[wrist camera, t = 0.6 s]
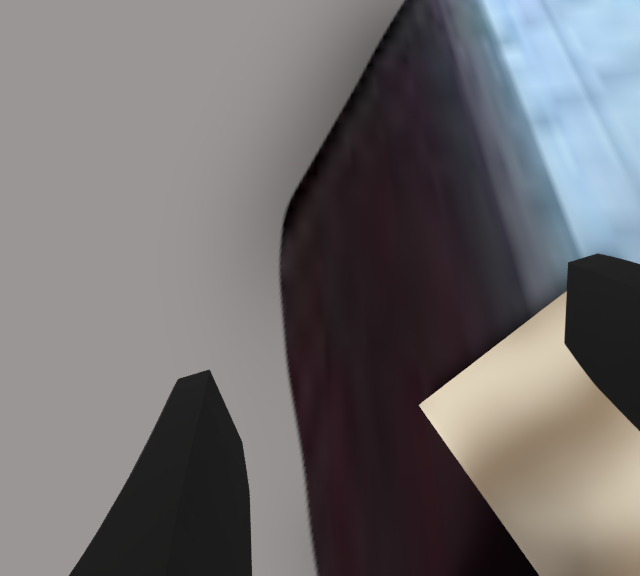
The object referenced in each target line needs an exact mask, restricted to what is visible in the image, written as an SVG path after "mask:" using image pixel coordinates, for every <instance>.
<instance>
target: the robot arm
mask: <svg viewBox="0 0 640 576" xmlns="http://www.w3.org/2000/svg"><path fill="white" fill-rule="evenodd" d="M564 344H565V345H566V347H567V348H568V349H569V351H570V352H571V354H572V355H573V356H574V358H575V359H576V361H577V362H578V363H579V365H580V366H581V368H582V369H583V370H584V371H585V373H586V374H587V375H588V377H589V378H590V379H591V381H592V382H593V383H594V384H595V385H596V386H597V388H598V389H599V390H600V391H601V392H602V393H603V394H604V395H605V396H606V397H607V398H608V399H609V400H610V401H611V402H612V403H613V404H614V405H615V406H616V408H617V409H618V410H619V411H620V412H621V413H622V414H623V415H624V416H625V417H626V418H627V419H628V420H629V421H630V422H631V423H632V424H633V425H634V426H635V427H636V428H637V429H638V430H639V431H640V264H637V263H634V262H630V261H626V260H623V259H619V258H615V257H611V256H606V255H601V254H595V255H592V256H588V257H585V258H582V259H578V260H575V261H571V262H568V277H567V297H566V317H565V337H564ZM249 496H250V494H249V485H248V478H247V470H246V464H245V457H244V451H243V444H242V441H241V438H240V436H239V434H238V432H237V429H236V427H235V425H234V423H233V421H232V418H231V416H230V414H229V412H228V409H227V407H226V405H225V403H224V401H223V398H222V396H221V394H220V392H219V390H218V387H217V385H216V383H215V381H214V378H213V376H212V374H211V372H210V370H207V371H203V372H200V373H197V374H193V375H190V376H187V377H183V378H180V379H178V380H177V382H176V384H175V386H174V388H173V390H172V392H171V394H170V396H169V398H168V400H167V402H166V404H165V406H164V408H163V411H162V413H161V415H160V417H159V419H158V421H157V423H156V425H155V427H154V429H153V431H152V433H151V435H150V437H149V439H148V441H147V443H146V445H145V447H144V449H143V451H142V453H141V455H140V457H139V459H138V461H137V462H136V464H135V466H134V468H133V470H132V472H131V474H130V476H129V478H128V480H127V481H126V483H125V485H124V487H123V489H122V490H121V492H120V494H119V495H118V497H117V499H116V501H115V502H114V504H113V506H112V507H111V509H110V511H109V513H108V514H107V516H106V518H105V520H104V521H103V523H102V525H101V527H100V528H99V530H98V532H97V533H96V535H95V537H94V538H93V540H92V541H91V543H90V544H89V546H88V547H87V549H86V551H85V552H84V554H83V555H82V557H81V558H80V560H79V562H78V563H77V564H76V566H75V567H74V569H73V570H72V572H71V573H70V575H69V576H252V560H251V523H250V497H249Z"/></svg>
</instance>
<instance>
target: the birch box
mask: <svg viewBox="0 0 640 576" xmlns="http://www.w3.org/2000/svg"><path fill="white" fill-rule="evenodd" d="M566 297H567V291H566V292H565V293H563V294H562V295H561V296H559V297H558V298H557V299H556V300H554V301H553V302H552V303H550V304H549V305H548V306H547V307H545V308H544V309H543V310H541V311H540V312H539V313H537V314H536V315H535V316H534V317H532V318H531V319H530V320H528V321H527V322H526V323H524V324H523V325H522V326H521V327H519V328H518V329H517V330H515V331H514V332H513V333H512V334H510V335H509V336H508V337H506V338H505V339H504V340H502V341H501V342H500V343H499V344H497V345H496V346H495V347H493V348H492V349H491V350H490V351H488V352H487V353H486V354H484V355H483V356H482V357H480V358H479V359H478V360H477V361H475V362H474V363H473V364H471V365H470V366H469V367H467V368H466V369H465V370H464V371H462V372H461V373H460V374H458V375H457V376H456V377H455V378H453V379H452V380H451V381H449V382H448V383H447V384H445V385H444V386H443V387H442V388H440V389H439V390H438V391H436V392H435V393H434V394H432V395H431V396H430V397H429V398H427V399H426V400H425V401H423V402H422V403H421V404H420V405H419V406H420V408H421V409H422V410H423V412H424V413H425V415H426V416H427V418H428V419H429V420H430V422H431V423H432V425H433V426H434V427H435V429H436V430H437V432H438V433H439V435H440V436H441V437H442V439H443V440H444V442H445V443H446V444H447V446H448V447H449V449H450V450H451V451H452V453H453V454H454V456H455V457H456V459H457V460H458V461H459V463H460V464H461V466H462V467H463V468H464V470H465V471H466V473H467V474H468V476H469V477H470V478H471V480H472V481H473V483H474V484H475V485H476V487H477V488H478V490H479V491H480V492H481V494H482V495H483V497H484V498H485V500H486V501H487V502H488V504H489V505H490V507H491V508H492V509H493V511H494V512H495V514H496V515H497V516H498V518H499V519H500V521H501V522H502V524H503V525H504V526H505V528H506V529H507V531H508V532H509V533H510V535H511V536H512V538H513V539H514V541H515V542H516V543H517V545H518V546H519V548H520V549H521V550H522V552H523V553H524V555H525V556H526V557H527V559H528V560H529V562H530V563H531V565H532V566H533V567H534V569H535V570H536V572H537V573H538V574H539V576H640V431H639V430H638V429H637V428H636V427H635V426H634V425H633V424H632V423H631V422H630V421H629V420H628V419H627V418H626V417H625V416H624V415H623V414H622V413H621V412H620V411H619V410H618V409H617V408H616V406H615V405H614V404H613V403H612V402H611V401H610V400H609V399H608V398H607V397H606V396H605V395H604V394H603V393H602V392H601V391H600V390H599V389H598V388H597V386H596V385H595V384H594V383H593V382H592V381H591V379H590V378H589V377H588V375H587V374H586V373H585V371H584V370H583V369H582V368H581V366H580V365H579V363H578V362H577V361H576V359H575V358H574V356H573V355H572V354H571V352H570V351H569V349H568V348H567V347H566V345H565V344H564V337H565V317H566Z"/></svg>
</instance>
